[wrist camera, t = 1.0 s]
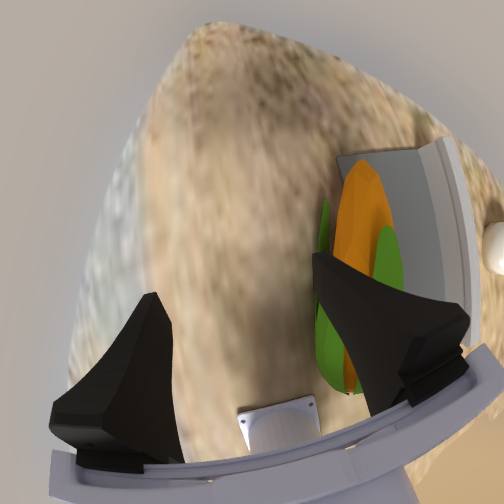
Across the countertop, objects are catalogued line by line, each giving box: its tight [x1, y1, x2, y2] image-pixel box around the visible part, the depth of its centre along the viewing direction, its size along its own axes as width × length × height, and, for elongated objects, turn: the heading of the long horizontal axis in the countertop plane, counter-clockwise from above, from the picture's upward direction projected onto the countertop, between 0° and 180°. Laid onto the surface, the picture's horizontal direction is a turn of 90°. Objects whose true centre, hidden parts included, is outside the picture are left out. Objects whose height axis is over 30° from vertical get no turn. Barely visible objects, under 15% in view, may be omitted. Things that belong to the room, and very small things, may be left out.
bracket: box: [336, 137, 481, 348], centre depth 22 cm, size 22×12×5 cm, turn 13°
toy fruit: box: [315, 159, 404, 395], centre depth 20 cm, size 7×8×20 cm
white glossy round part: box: [482, 222, 504, 275], centre depth 24 cm, size 7×7×4 cm
